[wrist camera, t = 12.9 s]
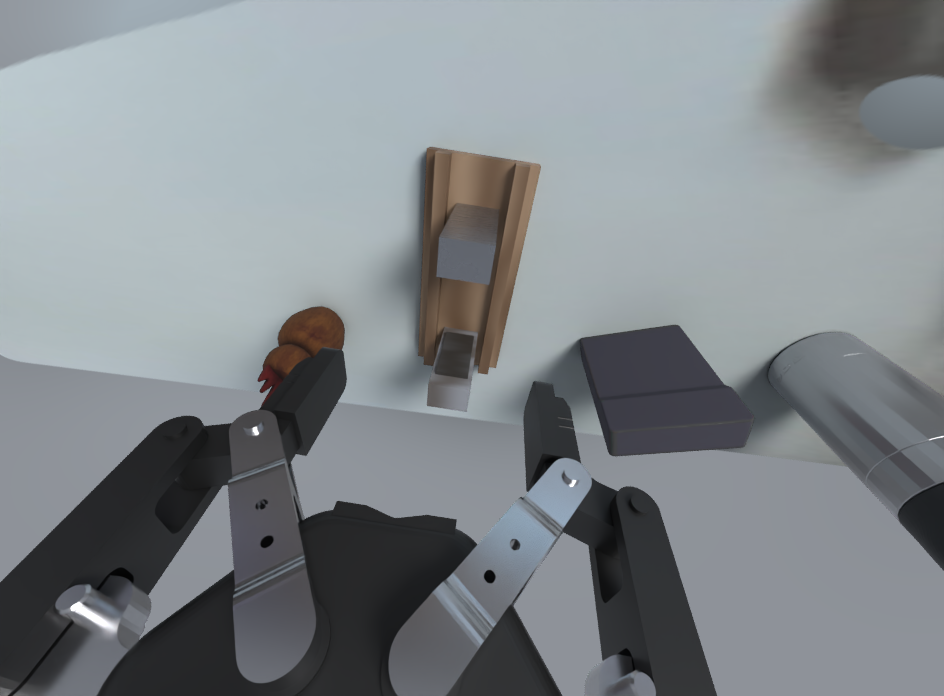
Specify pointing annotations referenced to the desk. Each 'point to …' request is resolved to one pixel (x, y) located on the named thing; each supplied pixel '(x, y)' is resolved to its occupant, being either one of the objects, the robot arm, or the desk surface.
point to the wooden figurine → (301, 343)
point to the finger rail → (460, 302)
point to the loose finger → (468, 244)
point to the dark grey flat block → (660, 394)
